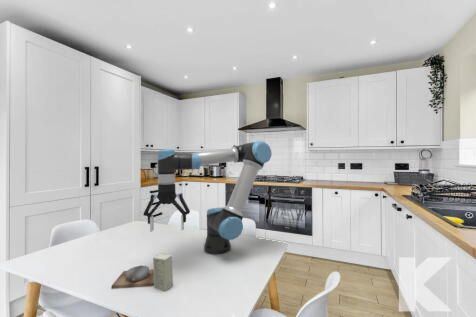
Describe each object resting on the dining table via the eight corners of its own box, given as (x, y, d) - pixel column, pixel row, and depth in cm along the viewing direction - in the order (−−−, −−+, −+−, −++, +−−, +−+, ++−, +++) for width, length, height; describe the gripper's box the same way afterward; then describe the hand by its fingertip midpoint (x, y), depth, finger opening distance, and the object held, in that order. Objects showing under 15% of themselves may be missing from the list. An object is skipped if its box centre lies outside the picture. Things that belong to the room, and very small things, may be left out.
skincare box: (173, 285, 91) (172, 255, 91) (165, 291, 87) (165, 259, 87) (160, 282, 93) (160, 252, 93) (152, 288, 89) (152, 257, 89)
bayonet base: (160, 271, 103) (160, 263, 103) (153, 286, 91) (153, 276, 91) (123, 273, 101) (123, 265, 101) (111, 288, 89) (111, 279, 89)
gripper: (195, 181, 108) (195, 226, 107) (141, 183, 105) (141, 228, 105) (193, 183, 100) (194, 231, 100) (135, 184, 98) (135, 234, 98)
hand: (167, 230), depth 103 cm, fingers open, 13 cm apart
